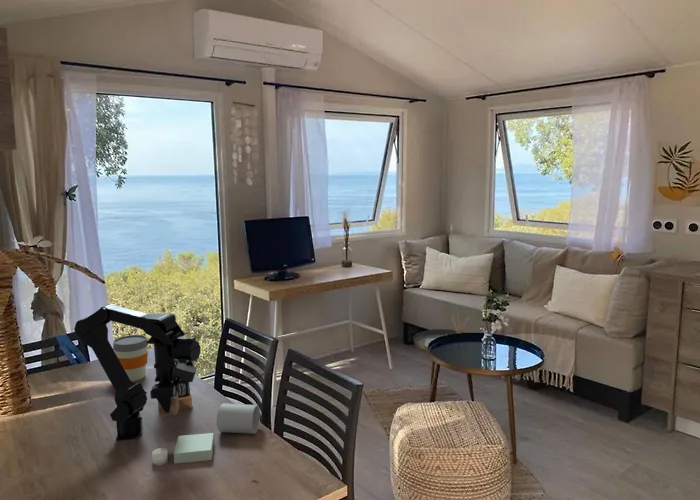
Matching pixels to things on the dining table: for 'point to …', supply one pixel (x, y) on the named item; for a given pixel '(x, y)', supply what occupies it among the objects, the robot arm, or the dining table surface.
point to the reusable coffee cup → (132, 355)
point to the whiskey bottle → (183, 388)
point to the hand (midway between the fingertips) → (168, 408)
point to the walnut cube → (173, 406)
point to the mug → (238, 418)
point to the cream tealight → (160, 456)
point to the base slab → (194, 448)
